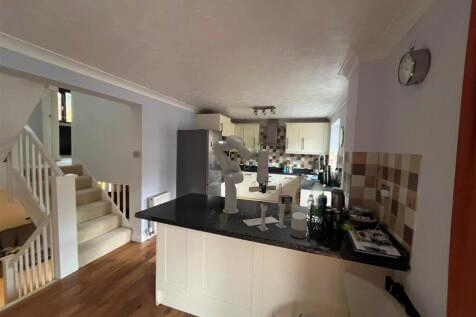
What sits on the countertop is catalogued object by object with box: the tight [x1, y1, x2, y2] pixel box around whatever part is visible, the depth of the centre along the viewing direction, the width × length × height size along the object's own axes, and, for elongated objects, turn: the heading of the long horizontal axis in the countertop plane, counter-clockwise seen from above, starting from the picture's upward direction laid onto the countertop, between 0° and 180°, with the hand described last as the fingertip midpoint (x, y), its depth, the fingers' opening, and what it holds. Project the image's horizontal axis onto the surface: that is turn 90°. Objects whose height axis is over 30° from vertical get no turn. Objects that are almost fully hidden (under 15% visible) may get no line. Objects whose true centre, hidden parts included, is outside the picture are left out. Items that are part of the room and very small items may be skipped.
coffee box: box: [277, 194, 294, 219], centre depth 160 cm, size 9×6×16 cm
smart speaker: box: [290, 211, 308, 240], centre depth 125 cm, size 10×9×14 cm
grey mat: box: [242, 216, 279, 227], centre depth 148 cm, size 10×24×1 cm, turn 112°
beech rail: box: [248, 184, 277, 193], centre depth 147 cm, size 3×20×3 cm, turn 112°
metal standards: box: [256, 202, 288, 232], centre depth 138 cm, size 6×19×16 cm, turn 112°
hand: (262, 192), depth 147 cm, fingers closed on beech rail, 3 cm apart
